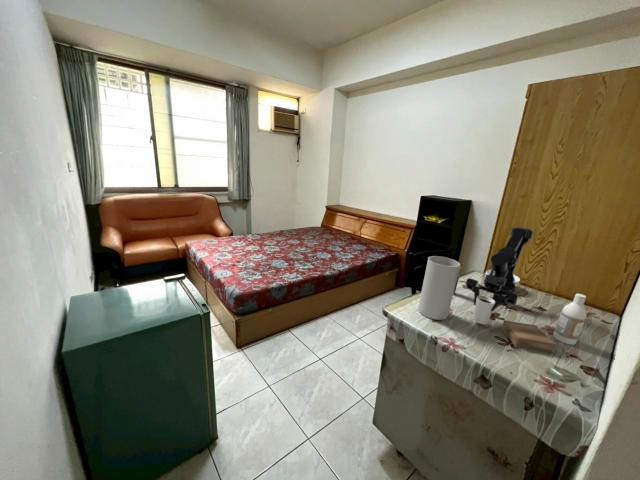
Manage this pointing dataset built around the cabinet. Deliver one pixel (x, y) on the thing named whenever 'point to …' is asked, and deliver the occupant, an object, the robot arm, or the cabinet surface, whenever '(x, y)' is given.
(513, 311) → the cabinet surface
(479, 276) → the cabinet surface
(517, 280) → the cereal bowl
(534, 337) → the walnut block
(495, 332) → the cabinet surface
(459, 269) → the container
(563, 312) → the bath foam
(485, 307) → the white cup
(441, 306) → the cylinder vase
